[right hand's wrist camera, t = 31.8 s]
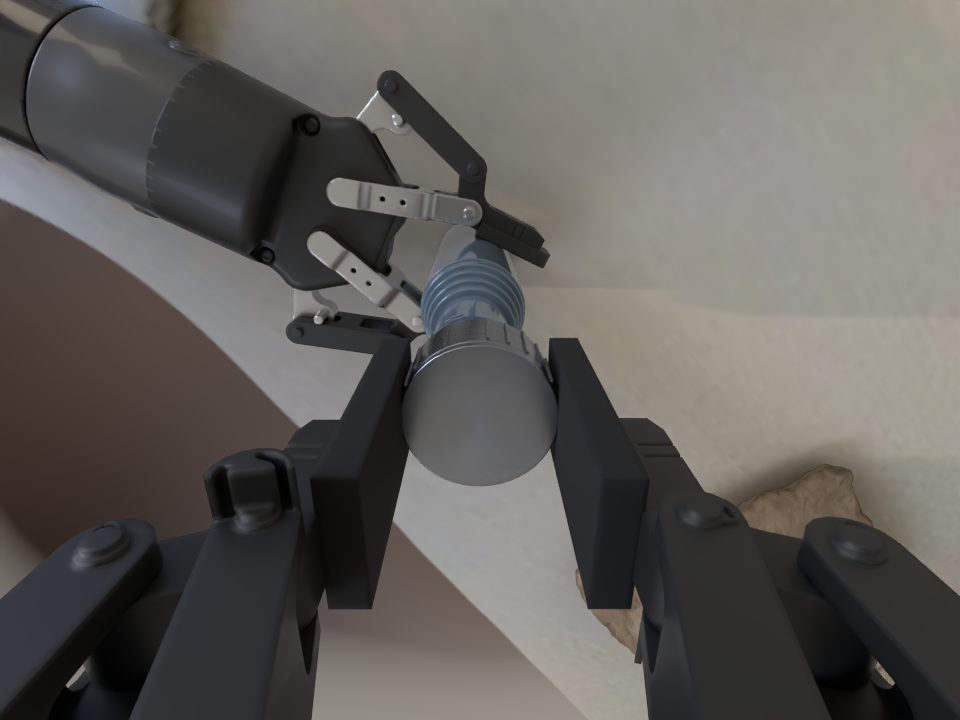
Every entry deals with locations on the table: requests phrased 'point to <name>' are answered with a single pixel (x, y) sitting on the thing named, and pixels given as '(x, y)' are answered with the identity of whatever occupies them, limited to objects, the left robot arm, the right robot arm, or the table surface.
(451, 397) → the cap
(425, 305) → the bottle
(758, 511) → the stone
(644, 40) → the table surface
